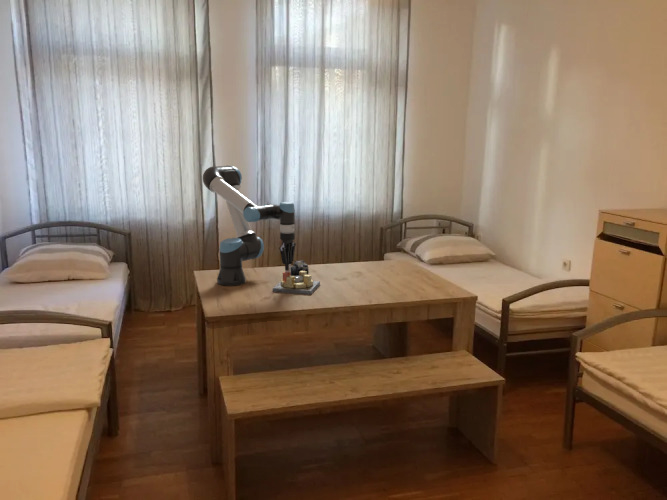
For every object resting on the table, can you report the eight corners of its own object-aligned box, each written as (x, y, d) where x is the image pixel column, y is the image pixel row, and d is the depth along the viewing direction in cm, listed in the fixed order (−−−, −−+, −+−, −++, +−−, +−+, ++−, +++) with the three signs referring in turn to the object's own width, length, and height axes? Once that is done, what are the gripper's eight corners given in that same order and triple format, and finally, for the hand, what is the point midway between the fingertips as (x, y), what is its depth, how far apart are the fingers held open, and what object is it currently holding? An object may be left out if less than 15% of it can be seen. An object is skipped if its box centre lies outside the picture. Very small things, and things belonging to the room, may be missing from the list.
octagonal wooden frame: (285, 289, 290) (285, 278, 289) (278, 281, 305) (278, 271, 304) (316, 287, 295) (316, 276, 294) (307, 279, 310) (307, 269, 309)
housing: (272, 291, 293) (272, 280, 292) (283, 282, 312) (284, 271, 311) (310, 294, 289) (310, 283, 288) (319, 284, 308) (320, 274, 307)
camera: (282, 275, 327) (282, 258, 325) (299, 274, 331) (299, 257, 329) (293, 282, 313) (293, 264, 311) (310, 280, 318) (310, 262, 316)
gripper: (287, 234, 291) (287, 279, 297) (299, 230, 302) (300, 273, 308) (274, 233, 295) (275, 277, 300) (287, 229, 306) (288, 272, 311)
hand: (288, 275), depth 304 cm, fingers closed
